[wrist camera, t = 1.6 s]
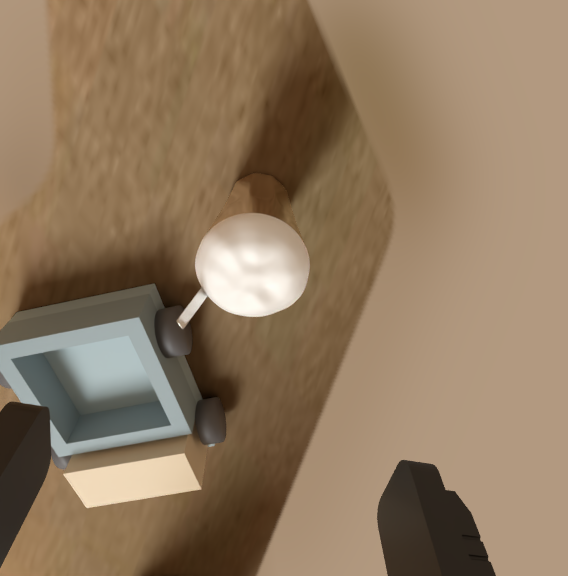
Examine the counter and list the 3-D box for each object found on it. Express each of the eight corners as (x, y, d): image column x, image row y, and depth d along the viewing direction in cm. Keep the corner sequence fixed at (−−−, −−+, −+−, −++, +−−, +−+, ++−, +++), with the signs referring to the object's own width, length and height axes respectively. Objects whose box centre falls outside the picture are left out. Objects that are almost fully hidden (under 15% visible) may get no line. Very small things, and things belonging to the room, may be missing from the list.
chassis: (232, 430, 34) (226, 485, 30) (87, 455, 35) (63, 511, 31) (173, 279, 28) (155, 323, 24) (-1, 315, 29) (-46, 363, 25)
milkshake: (188, 190, 25) (143, 278, 16) (276, 144, 24) (277, 213, 15) (230, 257, 27) (210, 367, 18) (313, 218, 26) (332, 315, 17)
